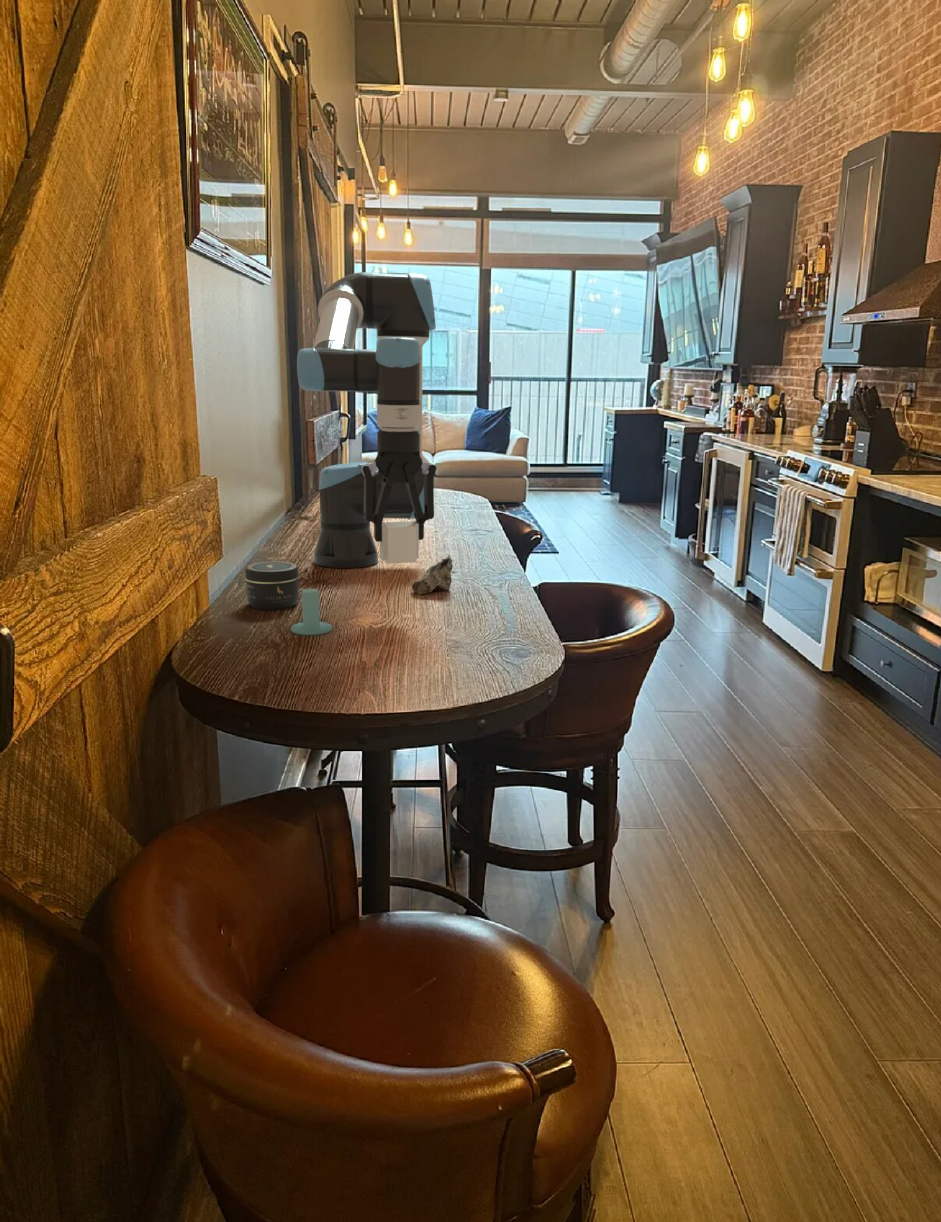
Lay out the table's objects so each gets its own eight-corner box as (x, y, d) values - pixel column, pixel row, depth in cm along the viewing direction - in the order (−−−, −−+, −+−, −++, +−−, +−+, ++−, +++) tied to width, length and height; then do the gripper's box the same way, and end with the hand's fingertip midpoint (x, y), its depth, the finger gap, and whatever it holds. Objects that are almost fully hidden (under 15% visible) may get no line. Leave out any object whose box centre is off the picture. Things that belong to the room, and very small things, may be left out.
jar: (256, 614, 158) (254, 573, 156) (239, 602, 167) (237, 563, 165) (307, 607, 164) (306, 568, 162) (288, 596, 172) (287, 558, 170)
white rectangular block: (382, 557, 159) (382, 522, 157) (409, 556, 160) (409, 521, 159) (388, 563, 154) (387, 527, 152) (416, 562, 156) (416, 526, 154)
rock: (447, 593, 170) (465, 556, 176) (414, 577, 170) (433, 540, 175) (437, 613, 178) (455, 577, 183) (406, 598, 178) (424, 562, 183)
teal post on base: (289, 625, 151) (287, 587, 149) (328, 622, 153) (327, 585, 151) (293, 636, 145) (291, 596, 143) (334, 633, 147) (333, 594, 145)
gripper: (350, 431, 145) (353, 565, 151) (454, 430, 150) (452, 560, 156) (343, 427, 151) (346, 555, 158) (442, 427, 157) (441, 551, 163)
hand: (399, 557), depth 157 cm, fingers closed on white rectangular block, 5 cm apart
